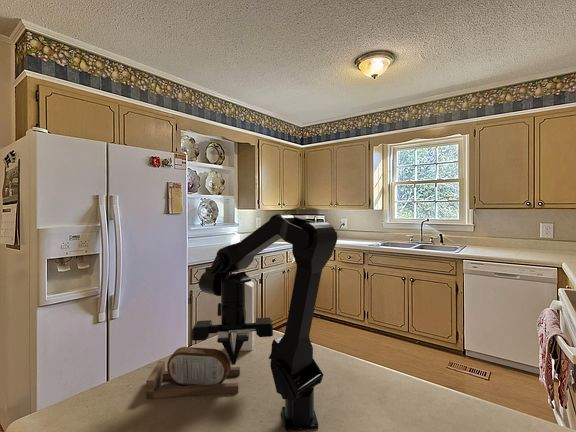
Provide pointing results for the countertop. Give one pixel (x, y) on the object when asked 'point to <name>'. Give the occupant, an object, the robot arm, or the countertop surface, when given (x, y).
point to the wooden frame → (177, 391)
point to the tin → (198, 366)
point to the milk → (247, 317)
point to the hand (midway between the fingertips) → (233, 363)
